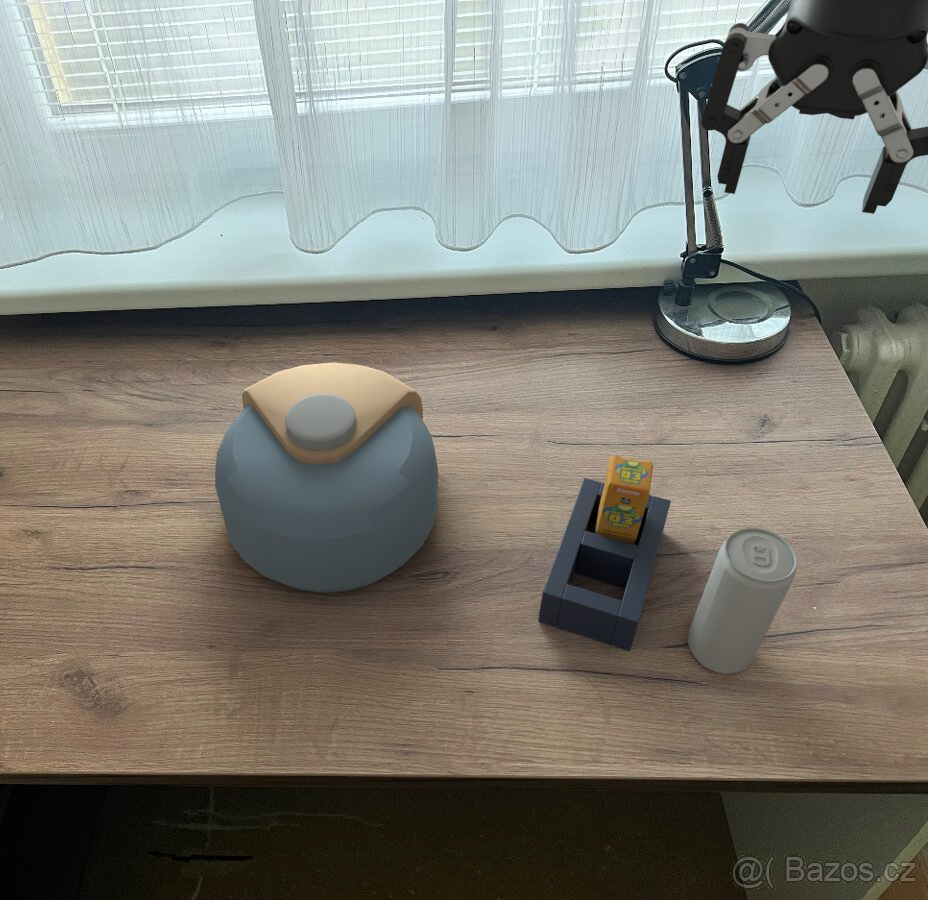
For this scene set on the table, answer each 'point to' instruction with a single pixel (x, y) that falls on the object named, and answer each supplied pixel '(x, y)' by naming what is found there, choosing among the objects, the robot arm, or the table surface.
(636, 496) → the supplement box
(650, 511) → the holder
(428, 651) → the table surface
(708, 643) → the beverage can
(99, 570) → the table surface
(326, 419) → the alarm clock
